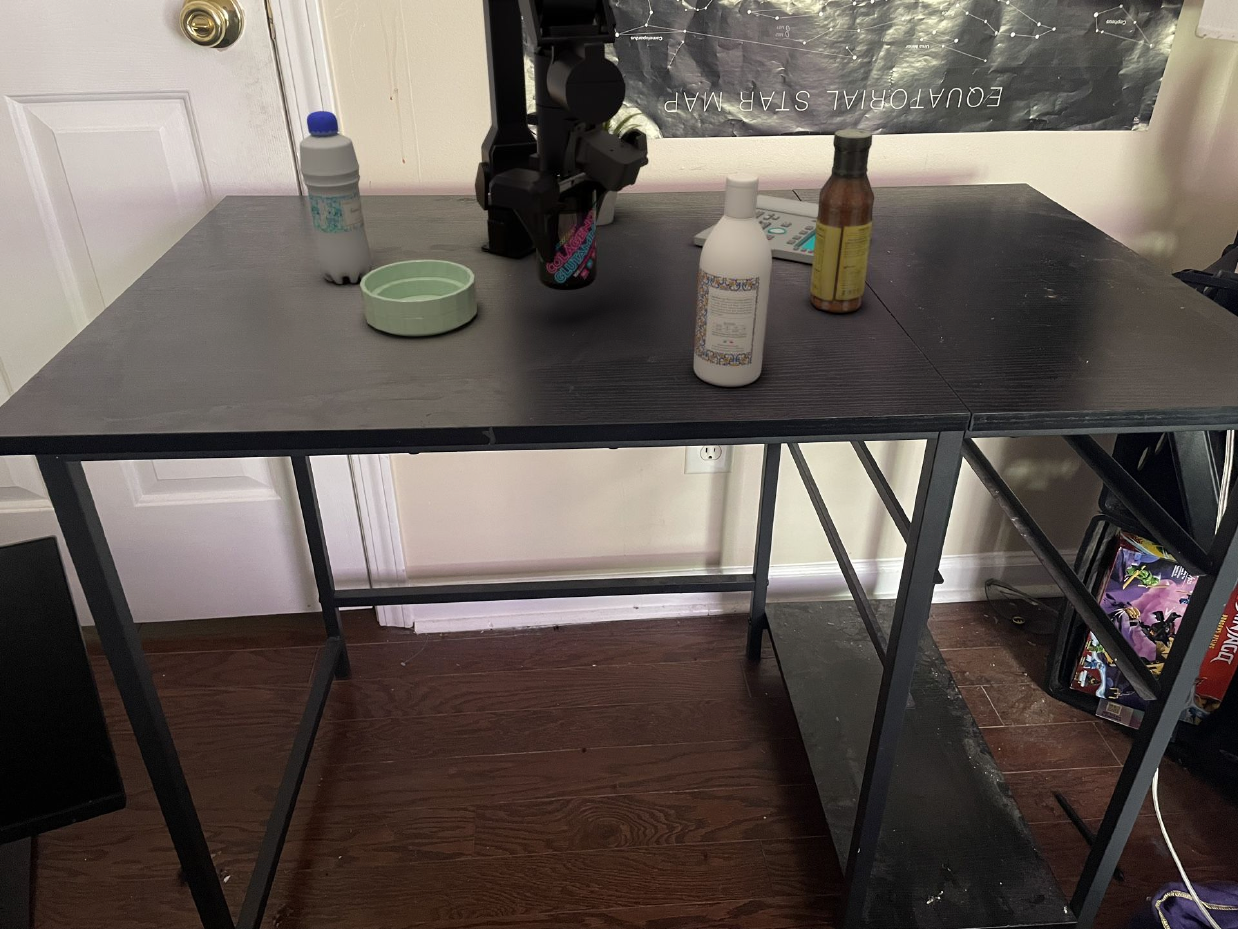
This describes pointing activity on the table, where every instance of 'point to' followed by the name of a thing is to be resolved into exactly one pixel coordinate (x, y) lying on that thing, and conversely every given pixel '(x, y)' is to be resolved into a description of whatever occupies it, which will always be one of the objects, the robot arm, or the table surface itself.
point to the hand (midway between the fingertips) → (567, 252)
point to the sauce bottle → (843, 226)
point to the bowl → (419, 297)
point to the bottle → (334, 199)
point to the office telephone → (783, 227)
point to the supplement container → (573, 240)
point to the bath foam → (733, 291)
